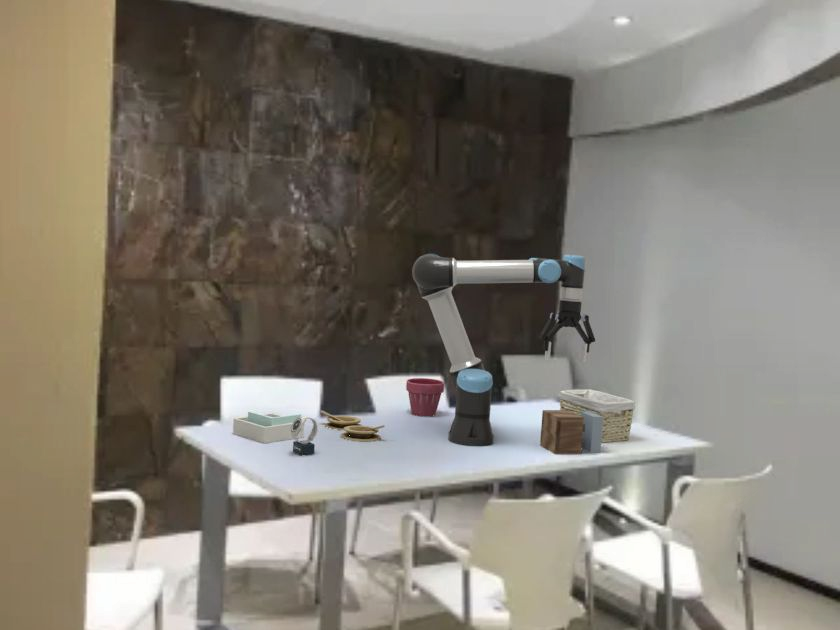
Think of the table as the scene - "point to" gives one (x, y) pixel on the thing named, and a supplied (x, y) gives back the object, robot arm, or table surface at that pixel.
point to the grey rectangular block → (592, 431)
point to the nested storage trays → (263, 430)
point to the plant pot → (424, 395)
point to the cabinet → (562, 432)
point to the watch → (306, 445)
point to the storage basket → (602, 411)
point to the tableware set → (352, 428)
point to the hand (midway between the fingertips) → (565, 361)
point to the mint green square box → (271, 419)
